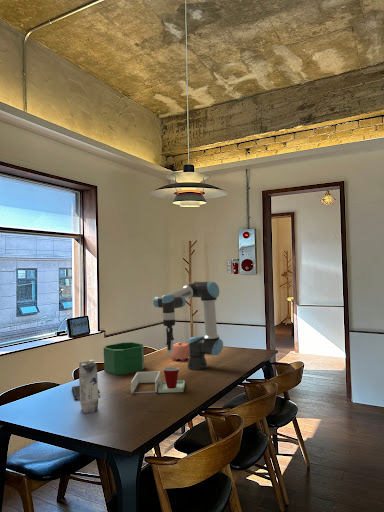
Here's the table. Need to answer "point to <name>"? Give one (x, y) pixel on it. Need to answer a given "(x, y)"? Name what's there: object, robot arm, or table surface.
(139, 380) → the frame
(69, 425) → the table surface
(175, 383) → the plastic cup
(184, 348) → the teapot
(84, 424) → the table surface
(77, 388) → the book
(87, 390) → the juice carton
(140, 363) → the planter
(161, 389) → the tray
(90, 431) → the table surface
